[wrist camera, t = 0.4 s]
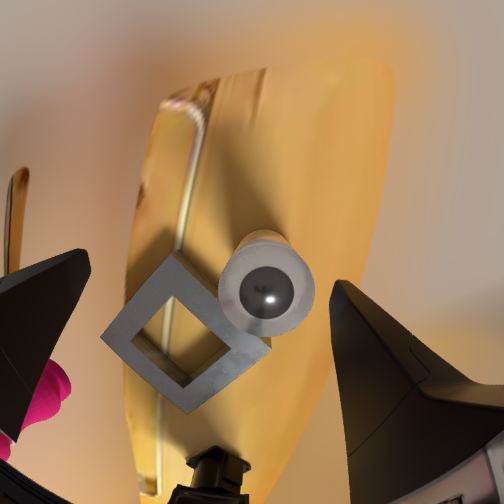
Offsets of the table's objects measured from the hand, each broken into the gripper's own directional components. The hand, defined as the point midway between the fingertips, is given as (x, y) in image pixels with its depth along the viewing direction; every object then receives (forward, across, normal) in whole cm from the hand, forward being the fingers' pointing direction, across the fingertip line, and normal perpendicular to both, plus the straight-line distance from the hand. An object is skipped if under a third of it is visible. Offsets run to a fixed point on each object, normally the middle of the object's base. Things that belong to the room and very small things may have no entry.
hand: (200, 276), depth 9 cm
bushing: (+14, -2, +7) cm, 16 cm away
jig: (+11, +4, +15) cm, 20 cm away
